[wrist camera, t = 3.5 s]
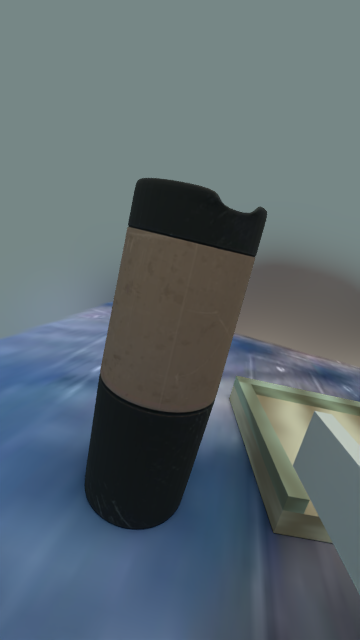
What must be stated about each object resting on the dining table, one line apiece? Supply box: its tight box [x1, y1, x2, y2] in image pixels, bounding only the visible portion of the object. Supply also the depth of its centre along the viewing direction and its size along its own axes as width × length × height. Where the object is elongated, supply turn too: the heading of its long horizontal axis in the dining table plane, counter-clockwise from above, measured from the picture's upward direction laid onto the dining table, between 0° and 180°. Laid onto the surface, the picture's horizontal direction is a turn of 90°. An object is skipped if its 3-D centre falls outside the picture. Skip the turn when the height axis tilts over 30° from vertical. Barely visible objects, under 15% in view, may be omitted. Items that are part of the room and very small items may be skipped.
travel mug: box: [85, 178, 267, 529], centre depth 19 cm, size 8×8×20 cm
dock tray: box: [229, 376, 360, 543], centre depth 30 cm, size 18×18×3 cm
